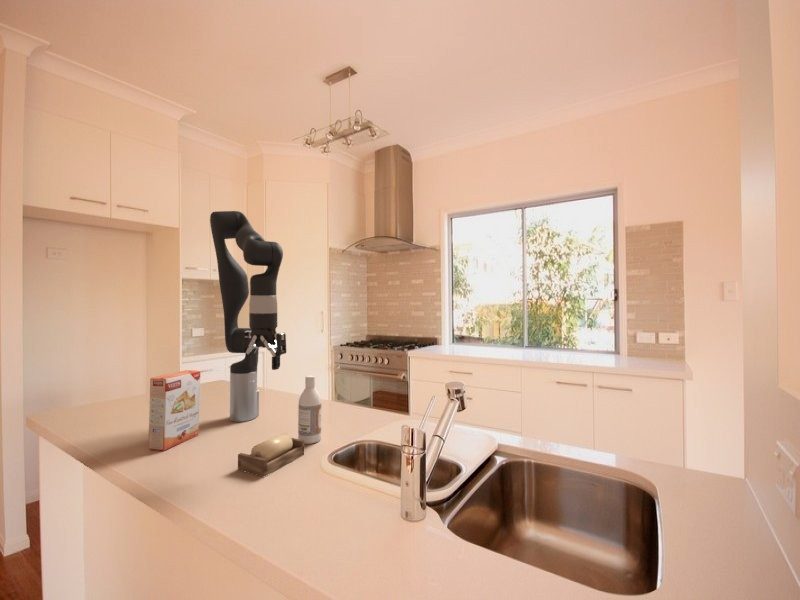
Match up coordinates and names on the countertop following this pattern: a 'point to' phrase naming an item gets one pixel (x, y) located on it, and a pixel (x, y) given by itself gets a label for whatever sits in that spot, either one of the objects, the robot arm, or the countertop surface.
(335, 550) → the countertop surface
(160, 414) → the cracker box
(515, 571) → the countertop surface
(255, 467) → the cradle
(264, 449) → the roll
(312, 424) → the bath foam
